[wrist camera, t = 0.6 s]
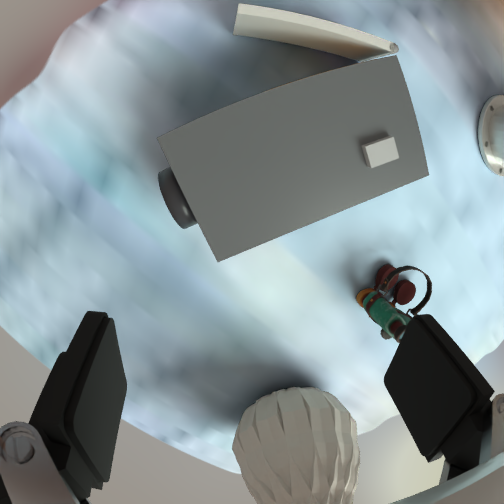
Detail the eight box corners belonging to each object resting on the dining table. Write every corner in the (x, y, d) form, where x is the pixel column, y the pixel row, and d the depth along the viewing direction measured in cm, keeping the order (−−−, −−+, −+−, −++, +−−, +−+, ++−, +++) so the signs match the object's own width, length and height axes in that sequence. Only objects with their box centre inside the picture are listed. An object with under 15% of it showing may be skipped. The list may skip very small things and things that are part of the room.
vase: (229, 370, 45) (249, 569, 17) (354, 362, 47) (429, 523, 20) (228, 438, 53) (242, 580, 26) (328, 430, 55) (368, 556, 28)
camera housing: (359, 64, 29) (400, 53, 21) (390, 160, 34) (433, 177, 26) (151, 141, 30) (129, 151, 22) (198, 238, 35) (194, 276, 28)
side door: (366, 49, 28) (399, 37, 21) (364, 62, 28) (398, 54, 22) (235, 20, 26) (240, -5, 19) (232, 34, 26) (237, 13, 20)
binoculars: (466, 306, 32) (417, 367, 34) (421, 274, 42) (380, 326, 44) (437, 274, 29) (380, 346, 31) (388, 242, 39) (343, 302, 41)
